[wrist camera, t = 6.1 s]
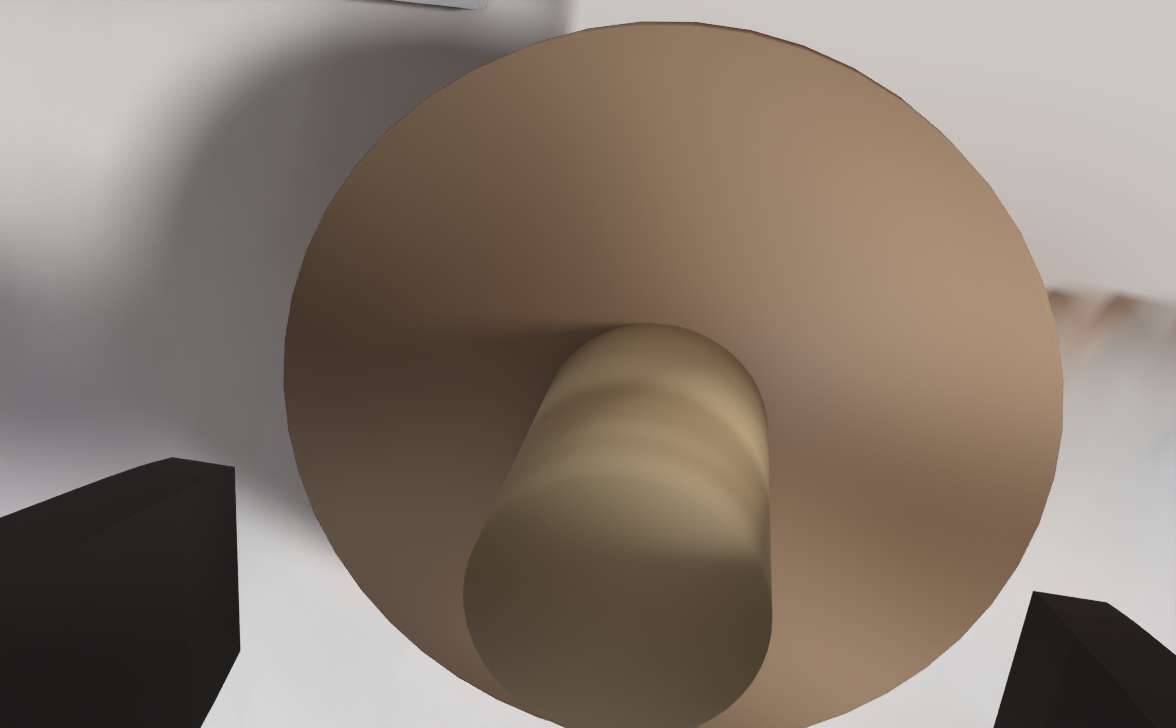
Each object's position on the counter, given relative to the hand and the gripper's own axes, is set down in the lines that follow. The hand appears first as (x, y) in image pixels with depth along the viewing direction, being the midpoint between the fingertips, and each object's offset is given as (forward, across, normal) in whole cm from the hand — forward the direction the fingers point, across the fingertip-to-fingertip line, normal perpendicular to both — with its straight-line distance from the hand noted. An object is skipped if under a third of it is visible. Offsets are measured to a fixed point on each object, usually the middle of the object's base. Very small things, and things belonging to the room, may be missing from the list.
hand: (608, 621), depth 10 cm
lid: (+5, 0, 0) cm, 5 cm away
